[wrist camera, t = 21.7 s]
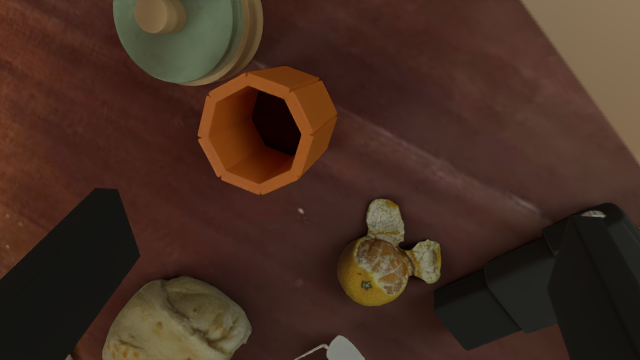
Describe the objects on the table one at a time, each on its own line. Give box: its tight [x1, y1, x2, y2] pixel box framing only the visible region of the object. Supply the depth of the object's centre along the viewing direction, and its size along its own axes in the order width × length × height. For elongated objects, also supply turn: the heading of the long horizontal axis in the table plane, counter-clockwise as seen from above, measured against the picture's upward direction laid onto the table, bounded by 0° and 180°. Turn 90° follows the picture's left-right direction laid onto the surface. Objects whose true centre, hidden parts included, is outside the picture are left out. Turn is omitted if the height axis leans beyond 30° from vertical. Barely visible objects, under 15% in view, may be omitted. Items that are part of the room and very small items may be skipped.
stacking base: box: [113, 0, 263, 86], centre depth 33 cm, size 10×10×8 cm
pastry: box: [102, 275, 252, 360], centre depth 42 cm, size 14×12×8 cm
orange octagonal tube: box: [198, 66, 338, 195], centre depth 33 cm, size 8×8×8 cm
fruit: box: [337, 199, 441, 306], centre depth 37 cm, size 8×8×4 cm
